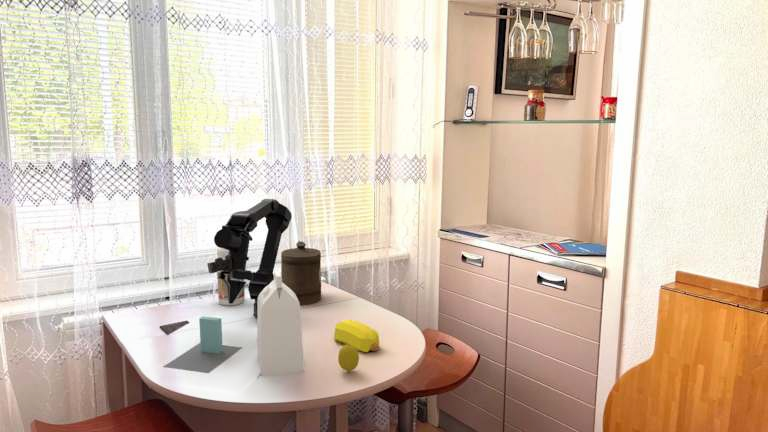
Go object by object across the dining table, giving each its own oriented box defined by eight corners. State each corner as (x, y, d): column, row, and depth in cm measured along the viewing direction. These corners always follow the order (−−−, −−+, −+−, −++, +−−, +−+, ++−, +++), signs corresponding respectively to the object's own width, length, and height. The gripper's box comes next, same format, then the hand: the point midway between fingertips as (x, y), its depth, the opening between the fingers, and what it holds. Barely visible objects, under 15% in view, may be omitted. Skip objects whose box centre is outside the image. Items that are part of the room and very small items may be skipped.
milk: (304, 370, 157) (302, 277, 153) (260, 376, 154) (257, 281, 150) (297, 353, 169) (296, 266, 164) (257, 358, 165) (254, 269, 161)
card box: (204, 348, 170) (203, 316, 168) (222, 351, 168) (221, 318, 167) (200, 351, 168) (199, 318, 166) (219, 353, 167) (217, 320, 165)
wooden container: (329, 298, 220) (328, 241, 216) (299, 308, 209) (298, 248, 205) (303, 290, 229) (302, 236, 226) (273, 299, 218) (271, 242, 215)
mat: (200, 344, 175) (200, 342, 175) (242, 349, 171) (242, 347, 171) (163, 368, 158) (163, 366, 158) (208, 375, 154) (208, 373, 154)
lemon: (338, 367, 159) (338, 340, 158) (358, 367, 160) (358, 339, 158) (338, 376, 154) (338, 348, 152) (359, 376, 154) (359, 347, 153)
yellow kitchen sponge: (347, 333, 185) (327, 340, 179) (347, 313, 184) (327, 319, 178) (386, 350, 172) (366, 357, 167) (386, 328, 171) (366, 335, 165)
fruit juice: (213, 301, 215) (210, 227, 210) (236, 296, 221) (233, 224, 216) (226, 307, 208) (223, 231, 203) (249, 302, 215) (247, 227, 210)
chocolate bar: (187, 320, 194) (207, 336, 180) (187, 323, 194) (207, 339, 180) (159, 326, 188) (178, 343, 174) (159, 328, 188) (178, 346, 174)
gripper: (205, 250, 184) (197, 300, 181) (219, 247, 168) (211, 301, 165) (239, 255, 190) (232, 303, 187) (257, 252, 173) (249, 305, 171)
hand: (230, 303), depth 177 cm, fingers closed
